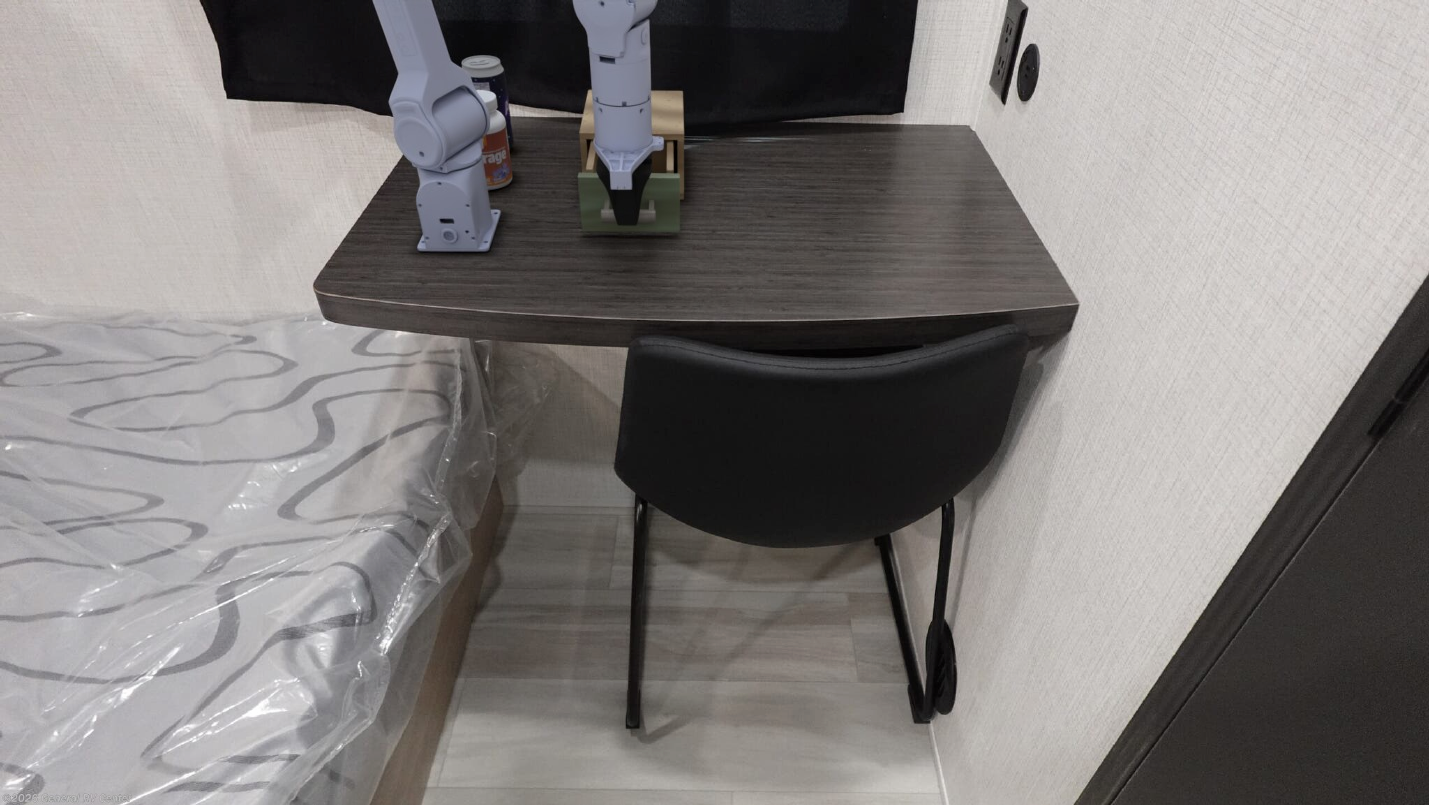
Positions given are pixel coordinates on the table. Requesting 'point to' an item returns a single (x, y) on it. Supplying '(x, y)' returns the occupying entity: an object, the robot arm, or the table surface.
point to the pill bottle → (495, 146)
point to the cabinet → (664, 125)
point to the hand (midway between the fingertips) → (627, 222)
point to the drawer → (655, 204)
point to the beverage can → (491, 84)
